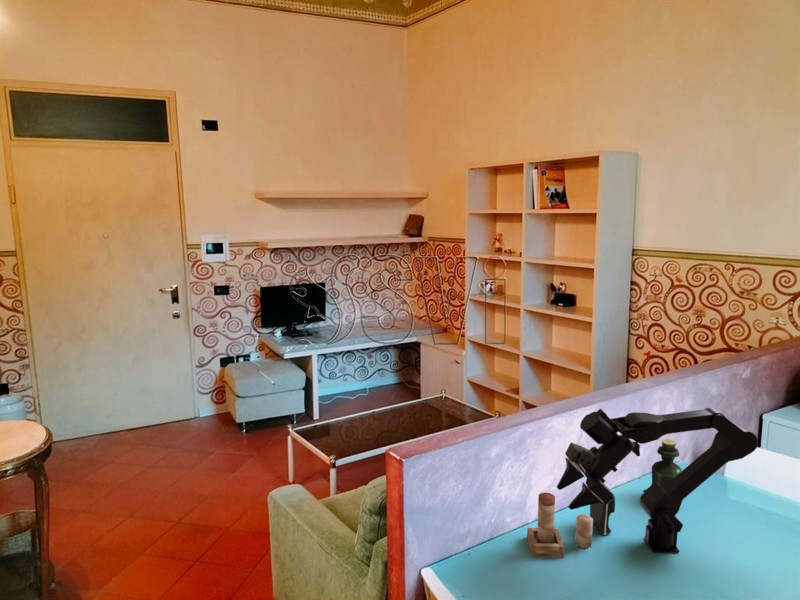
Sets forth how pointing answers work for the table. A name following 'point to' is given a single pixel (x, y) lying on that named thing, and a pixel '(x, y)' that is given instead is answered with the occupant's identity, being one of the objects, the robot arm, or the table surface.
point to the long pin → (546, 518)
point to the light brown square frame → (545, 544)
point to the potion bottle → (666, 463)
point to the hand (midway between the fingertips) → (563, 498)
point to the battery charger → (602, 515)
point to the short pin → (584, 531)
